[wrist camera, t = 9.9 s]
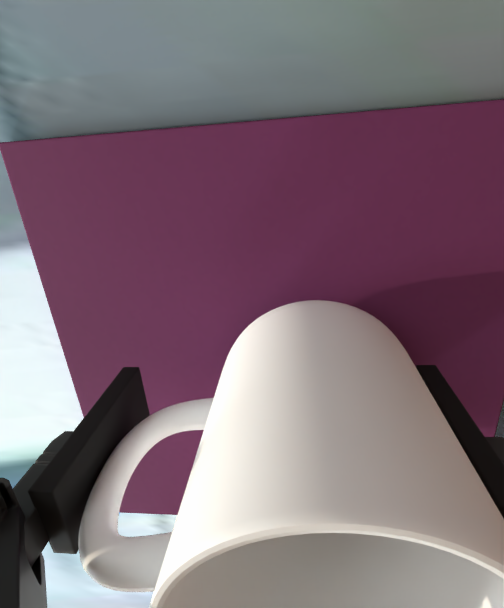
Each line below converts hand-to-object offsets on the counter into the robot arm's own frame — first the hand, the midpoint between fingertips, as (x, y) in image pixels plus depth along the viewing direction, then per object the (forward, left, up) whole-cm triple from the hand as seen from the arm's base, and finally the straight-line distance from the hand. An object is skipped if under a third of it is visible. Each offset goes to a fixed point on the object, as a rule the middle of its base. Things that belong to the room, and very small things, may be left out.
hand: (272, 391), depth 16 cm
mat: (0, 0, -3) cm, 3 cm away
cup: (0, 0, -1) cm, 1 cm away
